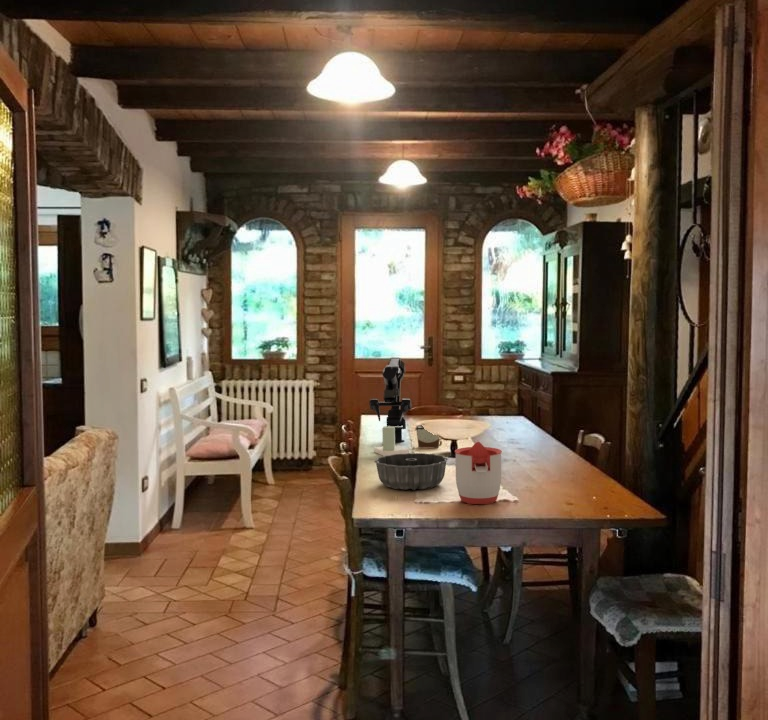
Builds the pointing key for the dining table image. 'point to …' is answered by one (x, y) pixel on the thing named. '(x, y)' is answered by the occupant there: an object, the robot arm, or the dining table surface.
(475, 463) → the citrus juicer
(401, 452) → the plate
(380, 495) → the dining table surface
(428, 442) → the food container
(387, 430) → the sage block
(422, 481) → the bundt pan
